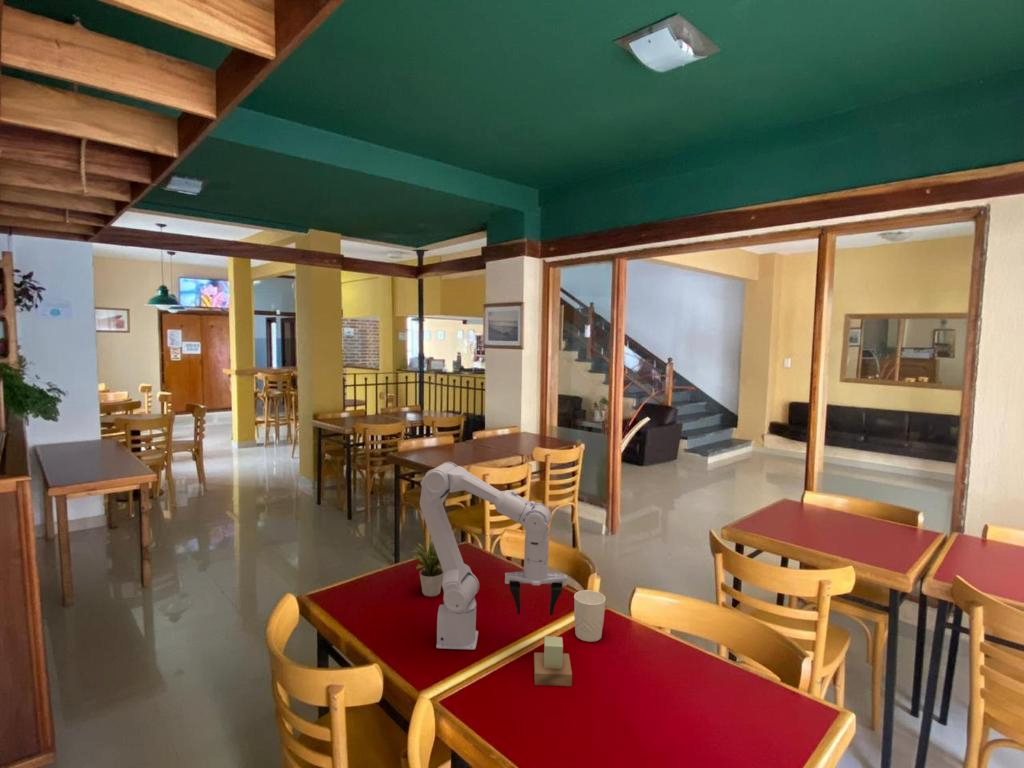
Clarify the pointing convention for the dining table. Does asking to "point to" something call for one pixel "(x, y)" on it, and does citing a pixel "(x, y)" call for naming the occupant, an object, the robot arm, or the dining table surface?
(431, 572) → the house plant
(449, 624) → the robot arm
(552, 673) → the walnut base
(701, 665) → the dining table surface
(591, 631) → the white cup
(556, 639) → the green block
